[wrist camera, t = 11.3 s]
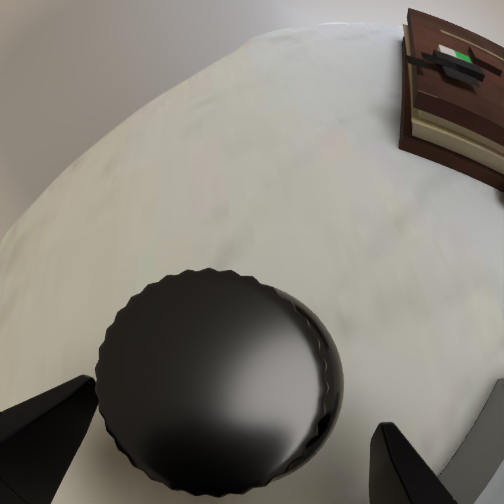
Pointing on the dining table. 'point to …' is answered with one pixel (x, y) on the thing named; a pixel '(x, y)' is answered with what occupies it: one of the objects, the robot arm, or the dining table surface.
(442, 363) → the dining table surface
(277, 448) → the supplement bottle
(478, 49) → the decorative book
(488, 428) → the tote
